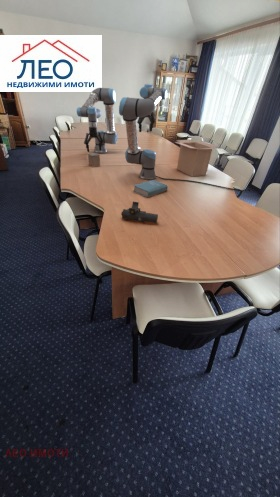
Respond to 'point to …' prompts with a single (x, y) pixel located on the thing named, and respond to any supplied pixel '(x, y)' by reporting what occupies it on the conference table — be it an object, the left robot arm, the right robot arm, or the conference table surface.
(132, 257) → the conference table surface
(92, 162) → the block
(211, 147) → the box
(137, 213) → the laser sight
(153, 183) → the book
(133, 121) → the right robot arm
